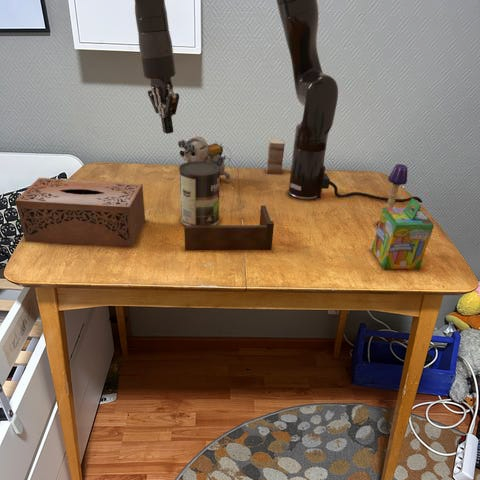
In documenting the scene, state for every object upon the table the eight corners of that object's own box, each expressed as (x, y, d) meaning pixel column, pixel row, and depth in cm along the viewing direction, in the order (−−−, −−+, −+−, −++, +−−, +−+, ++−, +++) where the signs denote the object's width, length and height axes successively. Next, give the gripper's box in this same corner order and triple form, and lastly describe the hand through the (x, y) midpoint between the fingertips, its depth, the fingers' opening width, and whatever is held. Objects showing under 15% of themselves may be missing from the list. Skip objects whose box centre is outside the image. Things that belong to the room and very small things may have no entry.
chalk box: (370, 250, 115) (384, 193, 106) (406, 250, 116) (423, 193, 107) (382, 270, 108) (398, 209, 99) (420, 270, 109) (440, 210, 100)
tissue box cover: (25, 240, 111) (15, 200, 105) (47, 215, 122) (39, 177, 116) (133, 246, 111) (129, 207, 105) (145, 220, 123) (142, 183, 116)
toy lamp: (394, 225, 128) (411, 164, 118) (393, 232, 124) (410, 170, 114) (377, 221, 129) (391, 161, 119) (375, 228, 125) (390, 166, 115)
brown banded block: (266, 173, 155) (268, 142, 149) (265, 169, 159) (268, 138, 153) (282, 174, 156) (285, 143, 150) (281, 169, 159) (284, 139, 153)
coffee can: (223, 214, 128) (224, 163, 119) (213, 231, 120) (214, 177, 111) (186, 210, 129) (185, 158, 121) (175, 225, 121) (173, 172, 113)
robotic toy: (168, 183, 144) (166, 133, 135) (212, 172, 154) (212, 124, 145) (194, 197, 137) (193, 144, 128) (238, 184, 146) (240, 134, 137)
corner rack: (264, 226, 123) (266, 201, 119) (271, 250, 113) (274, 223, 109) (184, 226, 121) (184, 201, 117) (184, 250, 111) (184, 223, 106)
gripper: (184, 53, 105) (194, 134, 115) (159, 51, 114) (169, 126, 124) (154, 57, 102) (166, 139, 111) (130, 55, 111) (144, 131, 121)
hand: (168, 132), depth 118 cm, fingers closed
